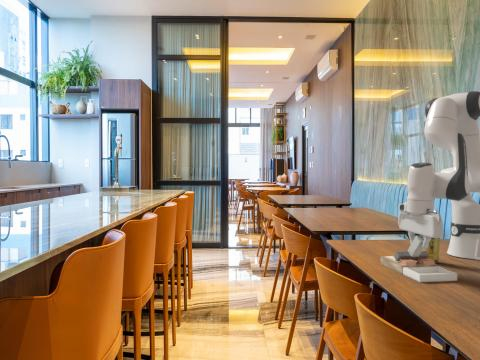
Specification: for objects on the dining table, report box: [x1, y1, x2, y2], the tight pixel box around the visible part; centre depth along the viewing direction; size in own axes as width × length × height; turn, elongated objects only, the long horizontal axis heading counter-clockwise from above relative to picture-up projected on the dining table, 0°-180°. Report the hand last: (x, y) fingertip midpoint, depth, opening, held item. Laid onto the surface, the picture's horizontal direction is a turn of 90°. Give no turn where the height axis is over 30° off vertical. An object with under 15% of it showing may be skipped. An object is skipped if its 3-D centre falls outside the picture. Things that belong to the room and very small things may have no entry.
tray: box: [402, 265, 458, 283], centre depth 124 cm, size 14×9×2 cm, turn 99°
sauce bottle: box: [423, 238, 441, 264], centre depth 145 cm, size 6×6×20 cm
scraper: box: [393, 234, 429, 261], centre depth 131 cm, size 12×3×11 cm
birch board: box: [380, 255, 438, 275], centre depth 136 cm, size 14×14×3 cm
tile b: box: [399, 259, 416, 266], centre depth 130 cm, size 4×4×2 cm
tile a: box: [417, 258, 434, 265], centre depth 131 cm, size 4×4×2 cm
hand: (418, 246), depth 129 cm, fingers closed on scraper, 5 cm apart
